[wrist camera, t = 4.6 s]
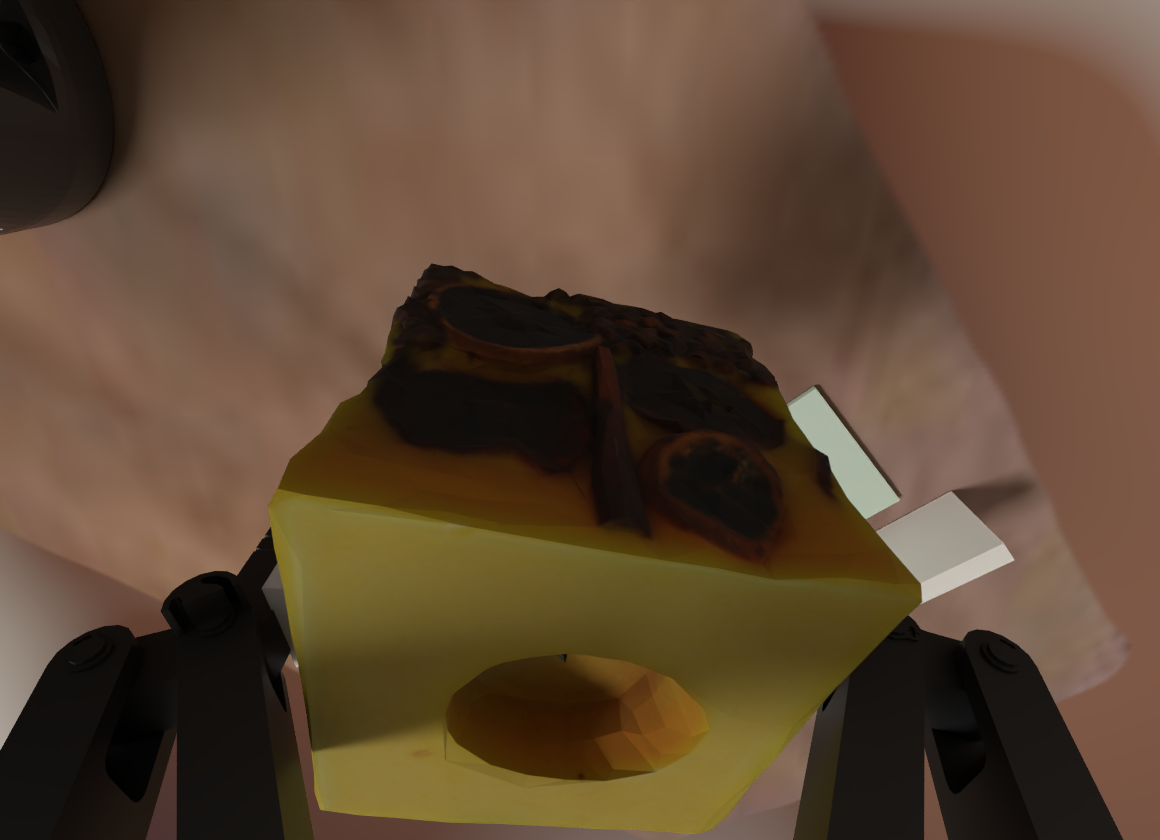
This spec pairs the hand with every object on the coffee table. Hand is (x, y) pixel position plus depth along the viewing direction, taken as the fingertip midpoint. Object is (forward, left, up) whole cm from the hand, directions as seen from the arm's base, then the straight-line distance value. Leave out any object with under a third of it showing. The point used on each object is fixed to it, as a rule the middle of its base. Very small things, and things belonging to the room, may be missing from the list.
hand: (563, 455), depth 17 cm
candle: (0, 0, -2) cm, 2 cm away
